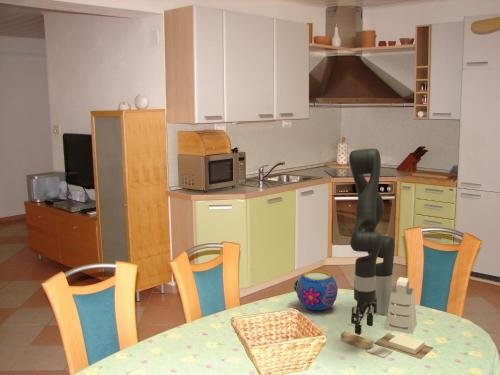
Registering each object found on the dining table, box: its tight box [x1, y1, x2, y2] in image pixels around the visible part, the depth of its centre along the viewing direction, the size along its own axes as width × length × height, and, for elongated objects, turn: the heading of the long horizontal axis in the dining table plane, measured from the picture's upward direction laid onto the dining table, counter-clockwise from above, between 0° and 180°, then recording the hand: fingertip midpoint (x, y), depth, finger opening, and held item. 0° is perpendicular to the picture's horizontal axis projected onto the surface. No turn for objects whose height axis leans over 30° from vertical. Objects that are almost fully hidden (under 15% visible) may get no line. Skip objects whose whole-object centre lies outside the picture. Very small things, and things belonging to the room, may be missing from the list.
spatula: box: [340, 331, 394, 359], centre depth 190 cm, size 18×6×3 cm, turn 49°
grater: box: [384, 276, 418, 335], centre depth 206 cm, size 10×10×20 cm
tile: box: [388, 333, 426, 355], centre depth 190 cm, size 8×2×10 cm
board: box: [373, 333, 434, 360], centre depth 191 cm, size 11×18×1 cm, turn 49°
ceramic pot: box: [293, 270, 339, 311], centre depth 227 cm, size 18×18×15 cm
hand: (363, 329), depth 190 cm, fingers open, 8 cm apart
